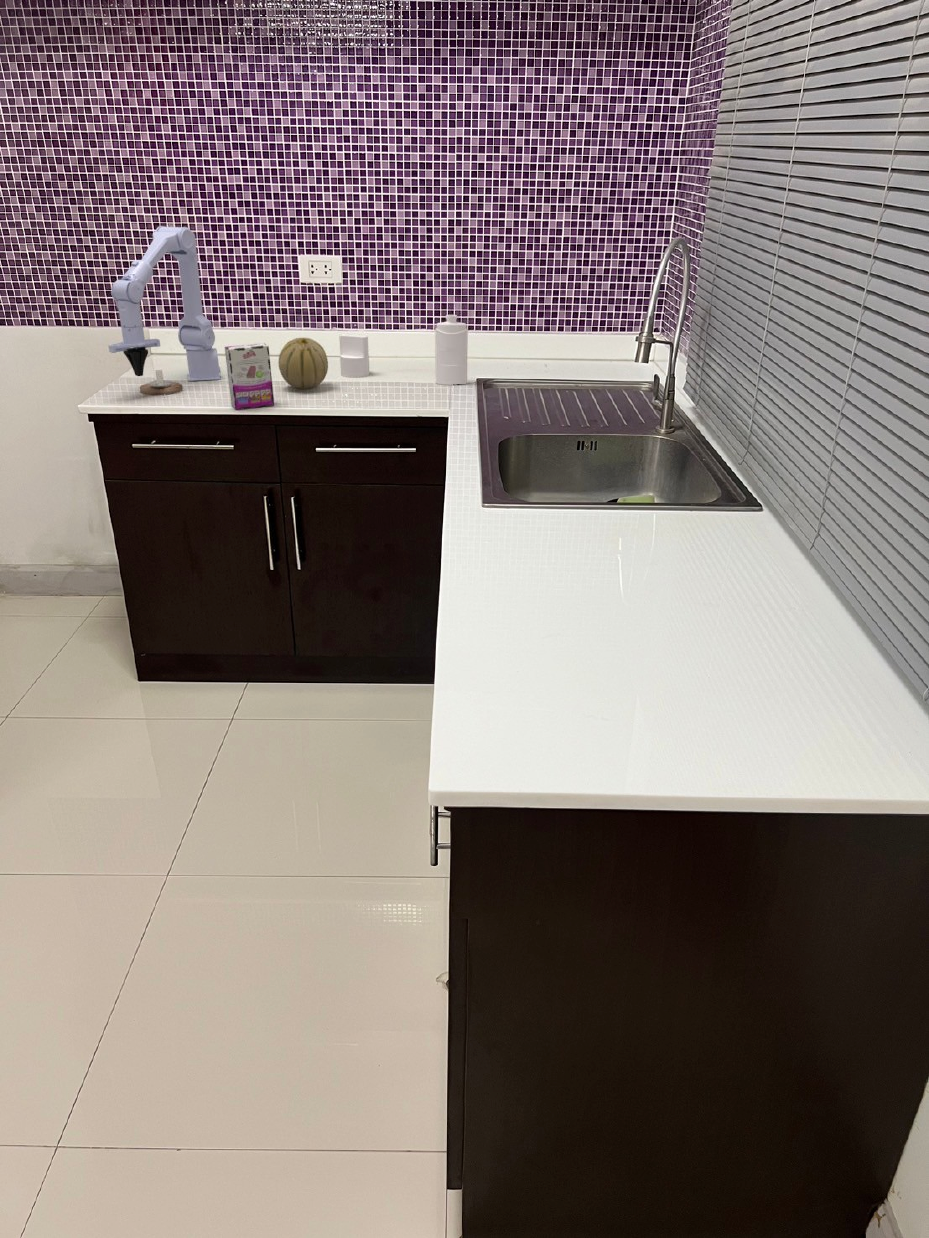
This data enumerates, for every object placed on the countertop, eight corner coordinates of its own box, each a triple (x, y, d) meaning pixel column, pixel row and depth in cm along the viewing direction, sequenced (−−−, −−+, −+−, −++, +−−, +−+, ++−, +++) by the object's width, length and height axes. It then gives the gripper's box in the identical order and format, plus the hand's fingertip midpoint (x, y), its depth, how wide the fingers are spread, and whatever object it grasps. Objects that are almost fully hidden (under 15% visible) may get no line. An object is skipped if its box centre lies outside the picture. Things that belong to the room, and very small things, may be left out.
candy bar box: (269, 402, 262) (264, 342, 254) (274, 406, 258) (269, 345, 250) (230, 406, 257) (223, 345, 250) (235, 410, 253) (228, 348, 246)
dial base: (182, 384, 280) (181, 380, 279) (183, 393, 270) (182, 389, 269) (140, 387, 277) (139, 382, 276) (140, 396, 267) (139, 391, 266)
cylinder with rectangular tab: (335, 376, 292) (333, 337, 287) (349, 370, 300) (347, 332, 294) (361, 378, 289) (359, 339, 284) (374, 373, 297) (373, 334, 291)
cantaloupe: (310, 380, 286) (307, 330, 280) (339, 388, 277) (337, 336, 270) (270, 388, 277) (265, 336, 270) (299, 396, 268) (295, 343, 261)
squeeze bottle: (466, 385, 282) (467, 382, 286) (467, 317, 273) (468, 314, 277) (435, 385, 282) (436, 381, 287) (434, 316, 273) (435, 314, 278)
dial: (150, 384, 274) (148, 368, 272) (171, 382, 276) (169, 367, 274) (150, 389, 268) (147, 374, 266) (171, 388, 269) (169, 373, 267)
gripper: (114, 330, 250) (122, 381, 256) (163, 324, 260) (169, 373, 266) (102, 327, 255) (109, 377, 261) (150, 321, 264) (156, 370, 270)
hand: (139, 375), depth 264 cm, fingers closed
